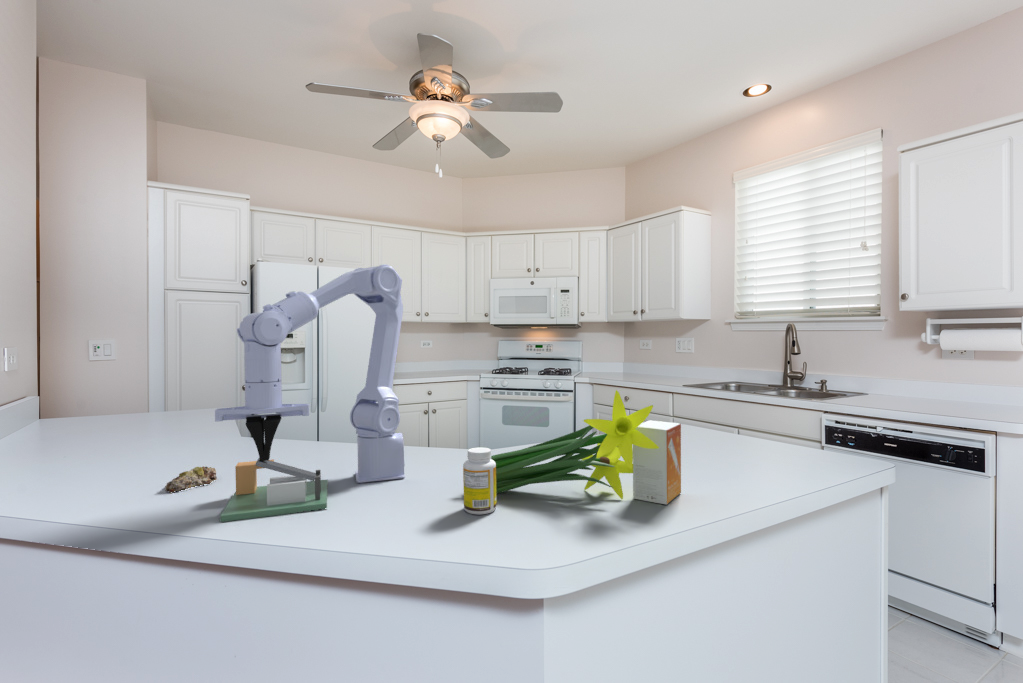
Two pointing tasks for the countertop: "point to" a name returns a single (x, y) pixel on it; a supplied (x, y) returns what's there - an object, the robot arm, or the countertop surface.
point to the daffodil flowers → (605, 460)
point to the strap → (287, 469)
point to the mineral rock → (192, 479)
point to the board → (262, 510)
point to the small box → (658, 463)
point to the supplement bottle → (479, 482)
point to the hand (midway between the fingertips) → (264, 459)
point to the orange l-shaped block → (246, 477)
